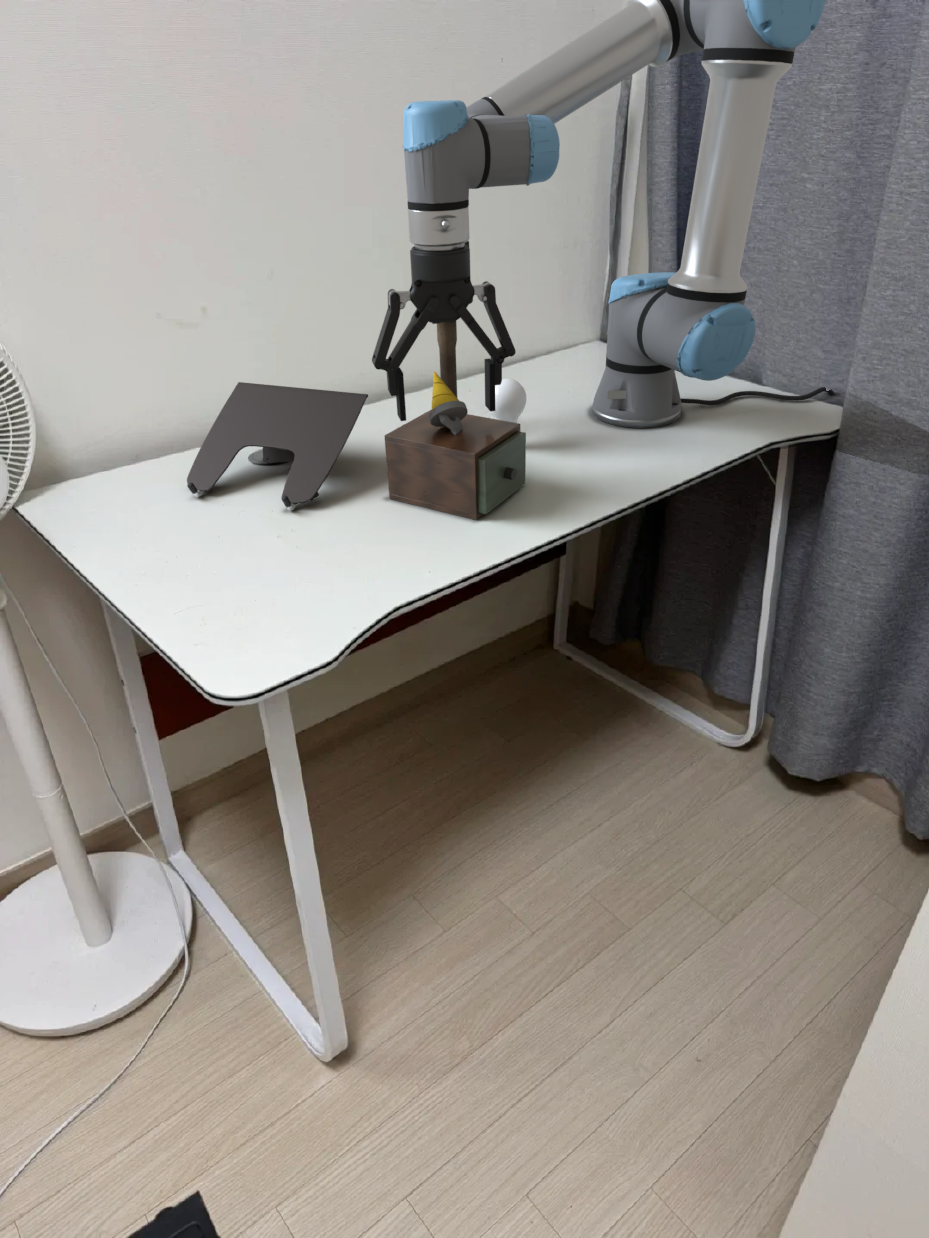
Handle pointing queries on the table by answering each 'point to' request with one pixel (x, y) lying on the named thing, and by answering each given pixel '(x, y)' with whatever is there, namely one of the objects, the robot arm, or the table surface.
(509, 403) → the lightbulb
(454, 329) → the stick grenade
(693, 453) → the table surface
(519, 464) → the drawer
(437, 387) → the drill bit
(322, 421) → the laptop tray
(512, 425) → the cabinet
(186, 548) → the table surface
